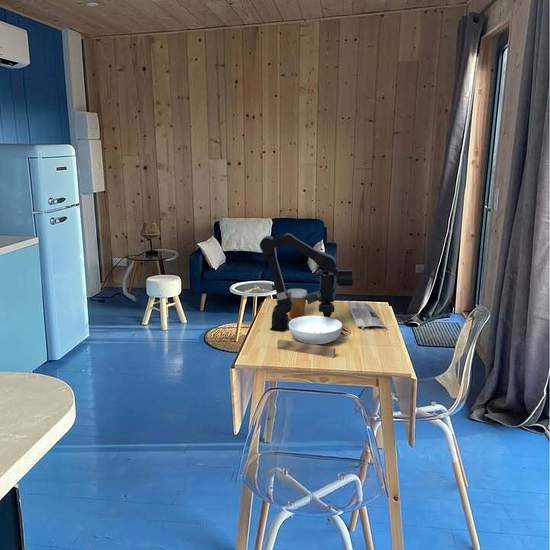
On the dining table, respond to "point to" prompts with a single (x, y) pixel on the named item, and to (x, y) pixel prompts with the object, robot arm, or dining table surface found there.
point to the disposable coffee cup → (298, 302)
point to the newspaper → (365, 316)
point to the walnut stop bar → (306, 348)
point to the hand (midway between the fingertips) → (326, 322)
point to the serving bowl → (315, 329)
